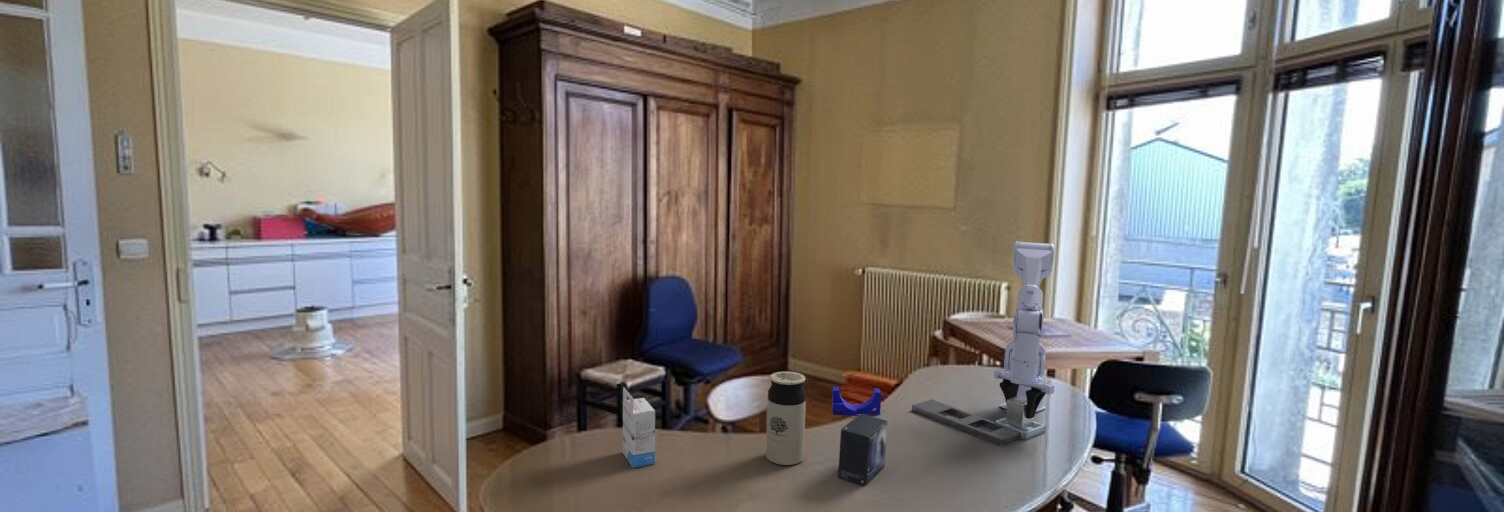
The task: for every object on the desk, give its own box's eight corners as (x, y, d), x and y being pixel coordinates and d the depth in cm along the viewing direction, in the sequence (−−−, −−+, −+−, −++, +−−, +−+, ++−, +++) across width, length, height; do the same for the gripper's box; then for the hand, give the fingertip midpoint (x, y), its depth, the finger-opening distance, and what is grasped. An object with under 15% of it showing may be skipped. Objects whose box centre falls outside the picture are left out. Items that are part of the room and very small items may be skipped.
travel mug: (783, 447, 147) (786, 368, 145) (811, 458, 142) (814, 377, 139) (758, 457, 142) (760, 376, 139) (786, 470, 136) (788, 385, 134)
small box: (867, 487, 130) (869, 436, 128) (836, 478, 133) (838, 428, 132) (886, 467, 139) (889, 419, 137) (857, 459, 142) (859, 412, 141)
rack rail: (931, 404, 176) (932, 399, 176) (1021, 437, 156) (1021, 432, 155) (911, 410, 172) (912, 405, 172) (1001, 445, 151) (1001, 439, 151)
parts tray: (1013, 420, 166) (1013, 414, 166) (1045, 431, 160) (1045, 425, 159) (993, 427, 161) (993, 421, 161) (1025, 439, 155) (1026, 433, 154)
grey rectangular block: (1016, 419, 163) (1018, 395, 162) (1032, 425, 159) (1035, 400, 159) (1005, 422, 161) (1007, 398, 160) (1021, 429, 157) (1023, 404, 156)
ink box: (656, 464, 137) (656, 396, 135) (632, 468, 135) (632, 399, 133) (644, 448, 145) (644, 383, 143) (621, 452, 143) (621, 386, 141)
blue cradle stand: (832, 415, 167) (833, 392, 167) (831, 409, 172) (832, 386, 171) (880, 417, 167) (881, 394, 166) (878, 411, 171) (879, 388, 170)
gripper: (988, 354, 162) (984, 408, 163) (1044, 370, 150) (1039, 427, 152) (1005, 350, 166) (1001, 402, 167) (1061, 365, 154) (1056, 421, 156)
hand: (1020, 414), depth 160 cm, fingers closed on grey rectangular block, 4 cm apart
